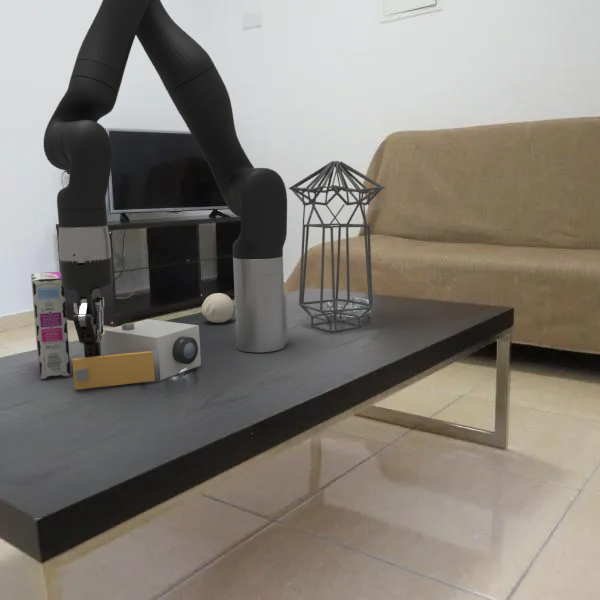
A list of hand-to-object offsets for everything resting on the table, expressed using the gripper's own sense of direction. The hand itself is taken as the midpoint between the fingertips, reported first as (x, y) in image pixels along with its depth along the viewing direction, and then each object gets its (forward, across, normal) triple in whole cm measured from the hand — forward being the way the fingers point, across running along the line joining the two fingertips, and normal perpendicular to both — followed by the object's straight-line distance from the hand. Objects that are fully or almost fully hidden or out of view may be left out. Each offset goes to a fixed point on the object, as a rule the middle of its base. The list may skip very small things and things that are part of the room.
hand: (93, 365), depth 102 cm
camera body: (+3, -7, +9) cm, 11 cm away
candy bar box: (+3, -9, -8) cm, 13 cm away
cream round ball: (+3, -42, +20) cm, 47 cm away
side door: (+3, +3, +4) cm, 6 cm away
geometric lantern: (+3, -32, +45) cm, 56 cm away
